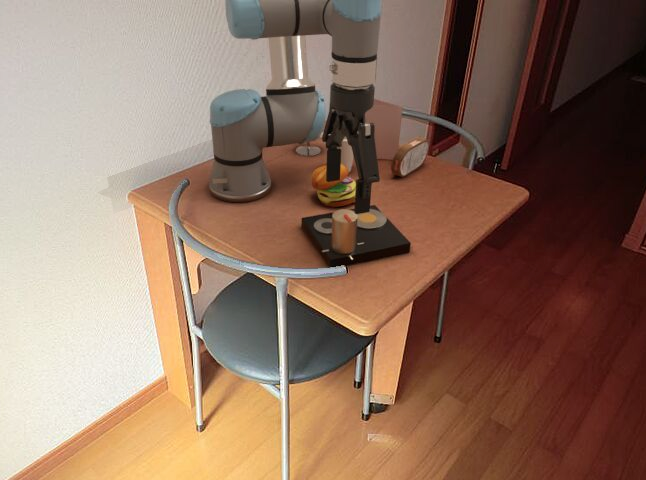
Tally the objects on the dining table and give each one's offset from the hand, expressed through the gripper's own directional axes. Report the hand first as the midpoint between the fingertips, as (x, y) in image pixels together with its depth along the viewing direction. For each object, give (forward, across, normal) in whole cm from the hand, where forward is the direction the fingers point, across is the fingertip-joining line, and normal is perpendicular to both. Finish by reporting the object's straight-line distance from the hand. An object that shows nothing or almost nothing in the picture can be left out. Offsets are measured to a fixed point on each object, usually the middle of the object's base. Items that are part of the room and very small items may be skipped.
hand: (346, 195), depth 105 cm
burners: (+12, -9, +5) cm, 16 cm away
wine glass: (+14, -53, +12) cm, 56 cm away
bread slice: (+14, -32, +33) cm, 48 cm away
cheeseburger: (+14, -24, +8) cm, 29 cm away
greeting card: (+14, -43, +28) cm, 53 cm away
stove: (+14, -6, +5) cm, 16 cm away
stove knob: (+12, 0, 0) cm, 12 cm away
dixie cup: (+14, -39, +16) cm, 44 cm away
